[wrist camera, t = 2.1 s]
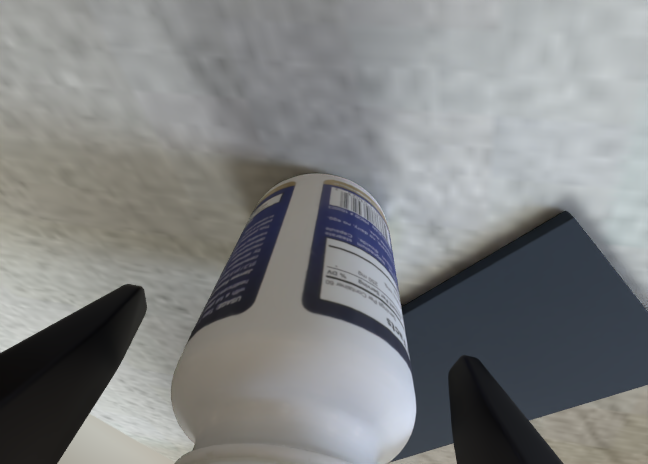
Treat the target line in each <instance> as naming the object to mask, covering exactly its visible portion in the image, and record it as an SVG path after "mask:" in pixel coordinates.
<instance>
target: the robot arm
mask: <svg viewBox="0 0 648 464" xmlns="http://www.w3.org/2000/svg"><path fill="white" fill-rule="evenodd" d="M146 310H147V304H146V298H145V292H144V289H143V288H142V287H141V286H136V285H132V284H126V285H123V286H121V287H120V288H118V289H116V290H114V291H112V292H111V293H109V294H107V295H105V296H103V297H101V298H100V299H98V300H96V301H94V302H92V303H91V304H89V305H87V306H85V307H83V308H81V309H80V310H78V311H76V312H74V313H72V314H71V315H69V316H67V317H65V318H63V319H62V320H60V321H58V322H56V323H54V324H52V325H51V326H49V327H47V328H45V329H43V330H42V331H40V332H38V333H36V334H34V335H33V336H31V337H29V338H27V339H25V340H23V341H22V342H20V343H18V344H16V345H14V346H13V347H11V348H9V349H7V350H5V351H3V352H2V353H0V464H57V463H58V461H59V460H60V458H61V457H62V455H63V454H64V452H65V451H66V449H67V447H68V446H69V444H70V443H71V441H72V440H73V438H74V437H75V435H76V433H77V432H78V430H79V429H80V427H81V426H82V424H83V422H84V421H85V419H86V418H87V416H88V415H89V413H90V412H91V410H92V408H93V407H94V405H95V404H96V402H97V401H98V399H99V397H100V396H101V394H102V393H103V391H104V390H105V388H106V387H107V385H108V383H109V382H110V380H111V379H112V377H113V376H114V374H115V372H116V371H117V369H118V367H119V365H120V363H121V362H122V360H123V358H124V356H125V354H126V352H127V350H128V348H129V346H130V344H131V342H132V340H133V338H134V336H135V334H136V332H137V330H138V328H139V326H140V324H141V322H142V320H143V318H144V316H145V314H146ZM448 384H449V398H450V413H451V426H452V435H453V442H454V448H455V454H456V460H457V464H563V462H562V461H561V460H560V459H559V458H558V456H557V455H556V454H555V453H554V451H553V450H552V449H551V448H550V446H549V445H548V444H547V443H546V441H545V440H544V439H543V438H542V437H541V435H540V434H539V433H538V432H537V430H536V429H535V428H534V427H533V425H532V424H531V423H530V422H529V420H528V419H527V418H526V417H525V416H524V414H523V413H522V412H521V411H520V409H519V408H518V407H517V406H516V404H515V403H514V402H513V401H512V399H511V398H510V397H509V396H508V395H507V393H506V392H505V391H504V390H503V388H502V387H501V386H500V385H499V383H498V382H497V381H496V380H495V378H494V377H493V376H492V375H491V374H490V372H489V371H488V370H487V369H486V367H485V366H484V365H483V364H482V362H481V361H480V360H479V359H478V358H476V357H472V356H467V355H462V356H461V357H460V358H459V359H458V360H457V361H456V363H455V364H454V365H453V366H452V368H451V369H450V371H449V374H448Z"/></svg>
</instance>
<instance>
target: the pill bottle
mask: <svg viewBox="0 0 648 464" xmlns="http://www.w3.org/2000/svg"><path fill="white" fill-rule="evenodd" d="M171 400H172V406H173V411H174V414H175V417H176V419H177V421H178V423H179V425H180V427H181V428H182V430H183V431H184V433H185V434H186V435H187V436H188V438H189V439H190V440H191V441H192V442H193V443H194V444H195V445H194V448H193V451H191V452H188V453H187V454H185V455H183V456H182V457H181V458H179V459H178V460H177V461H176V462H175V464H387V463H388V462H390V461H391V460H392V459H394V458H395V457H396V456H397V455H398V454H399V453H400V452H401V450H402V449H403V448H404V446H405V445H406V443H407V442H408V440H409V438H410V436H411V433H412V430H413V428H414V423H415V417H416V398H415V391H414V385H413V378H412V367H411V362H410V358H409V352H408V346H407V340H406V334H405V327H404V321H403V315H402V308H401V302H400V296H399V289H398V282H397V277H396V271H395V265H394V258H393V252H392V245H391V239H390V233H389V228H388V224H387V220H386V217H385V215H384V213H383V210H382V209H381V207H380V205H379V204H378V203H377V201H376V200H375V199H374V198H373V197H372V196H371V195H370V193H368V192H367V191H366V190H365V189H363V188H362V187H361V186H359V185H357V184H356V183H354V182H352V181H350V180H347V179H345V178H342V177H338V176H335V175H329V174H319V173H315V174H305V175H299V176H296V177H293V178H290V179H287V180H285V181H283V182H281V183H279V184H277V185H276V186H274V187H273V188H272V189H270V190H269V191H268V192H267V193H266V194H265V195H264V196H263V197H262V199H261V200H260V201H259V203H258V204H257V206H256V208H255V209H254V211H253V213H252V214H251V216H250V218H249V221H248V222H247V224H246V226H245V228H244V230H243V232H242V234H241V236H240V238H239V240H238V242H237V244H236V246H235V248H234V250H233V252H232V254H231V256H230V258H229V260H228V262H227V264H226V266H225V268H224V270H223V272H222V274H221V276H220V278H219V280H218V282H217V284H216V286H215V288H214V290H213V292H212V294H211V296H210V298H209V300H208V302H207V304H206V306H205V308H204V310H203V312H202V314H201V316H200V318H199V320H198V322H197V324H196V326H195V327H194V329H193V331H192V333H191V335H190V338H189V340H188V342H187V344H186V347H185V349H184V351H183V353H182V356H181V358H180V360H179V362H178V365H177V367H176V370H175V372H174V376H173V380H172V386H171Z"/></svg>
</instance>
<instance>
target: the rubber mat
mask: <svg viewBox="0 0 648 464" xmlns="http://www.w3.org/2000/svg"><path fill="white" fill-rule="evenodd" d="M401 308H402V315H403V321H404V327H405V334H406V340H407V346H408V352H409V358H410V362H411V367H412V378H413V385H414V391H415V398H416V417H415V423H414V428H413V430H412V433H411V436H410V438H409V440H408V442H407V443H406V445H405V446H404V448H403V449H402V450H401V452H400V453H399V454H398V455H397V456H396V457H395V458H394V459H392V460H391V461H390V462H393V461H396V460H399V459H403V458H406V457H409V456H413V455H416V454H419V453H423V452H426V451H429V450H432V449H436V448H439V447H442V446H446V445H449V444H452V443H454V442H453V435H452V426H451V413H450V398H449V384H448V374H449V371H450V369H451V368H452V366H453V365H454V364H455V363H456V361H457V360H458V359H459V358H460V357H461V356H462V355H467V356H472V357H476V358H478V359H479V360H480V361H481V362H482V364H483V365H484V366H485V367H486V369H487V370H488V371H489V372H490V374H491V375H492V376H493V377H494V378H495V380H496V381H497V382H498V383H499V385H500V386H501V387H502V388H503V390H504V391H505V392H506V393H507V395H508V396H509V397H510V398H511V399H512V401H513V402H514V403H515V404H516V406H517V407H518V408H519V409H520V411H521V412H522V413H523V414H524V416H525V417H526V418H527V419H528V420H532V419H535V418H539V417H542V416H545V415H549V414H552V413H555V412H559V411H562V410H565V409H569V408H572V407H575V406H579V405H582V404H585V403H589V402H592V401H595V400H599V399H602V398H605V397H609V396H612V395H615V394H619V393H622V392H625V391H628V390H632V389H635V388H638V387H642V386H645V385H648V312H647V310H646V309H645V308H644V307H643V305H642V304H641V303H640V301H639V300H638V299H637V298H636V296H635V295H634V294H633V292H632V291H631V290H630V289H629V287H628V286H627V285H626V283H625V282H624V281H623V280H622V278H621V277H620V276H619V275H618V273H617V272H616V271H615V269H614V268H613V267H612V266H611V264H610V263H609V262H608V260H607V259H606V258H605V257H604V255H603V254H602V253H601V251H600V250H599V249H598V248H597V246H596V245H595V244H594V242H593V241H592V240H591V239H590V237H589V236H588V235H587V233H586V232H585V231H584V230H583V228H582V227H581V226H580V225H579V223H578V222H577V221H576V219H575V218H574V217H573V216H572V215H571V214H570V213H569V212H568V211H564V212H563V213H561V214H559V215H557V216H556V217H554V218H552V219H551V220H549V221H547V222H546V223H544V224H542V225H540V226H539V227H537V228H535V229H534V230H532V231H530V232H529V233H527V234H525V235H523V236H522V237H520V238H518V239H517V240H515V241H513V242H512V243H510V244H508V245H506V246H505V247H503V248H501V249H500V250H498V251H496V252H495V253H493V254H491V255H489V256H488V257H486V258H484V259H483V260H481V261H479V262H478V263H476V264H474V265H472V266H471V267H469V268H467V269H466V270H464V271H462V272H461V273H459V274H457V275H455V276H454V277H452V278H450V279H449V280H447V281H445V282H444V283H442V284H440V285H438V286H437V287H435V288H433V289H432V290H430V291H428V292H427V293H425V294H423V295H421V296H420V297H418V298H416V299H415V300H413V301H411V302H410V303H408V304H406V305H404V306H403V307H401ZM388 463H389V462H388Z"/></svg>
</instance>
